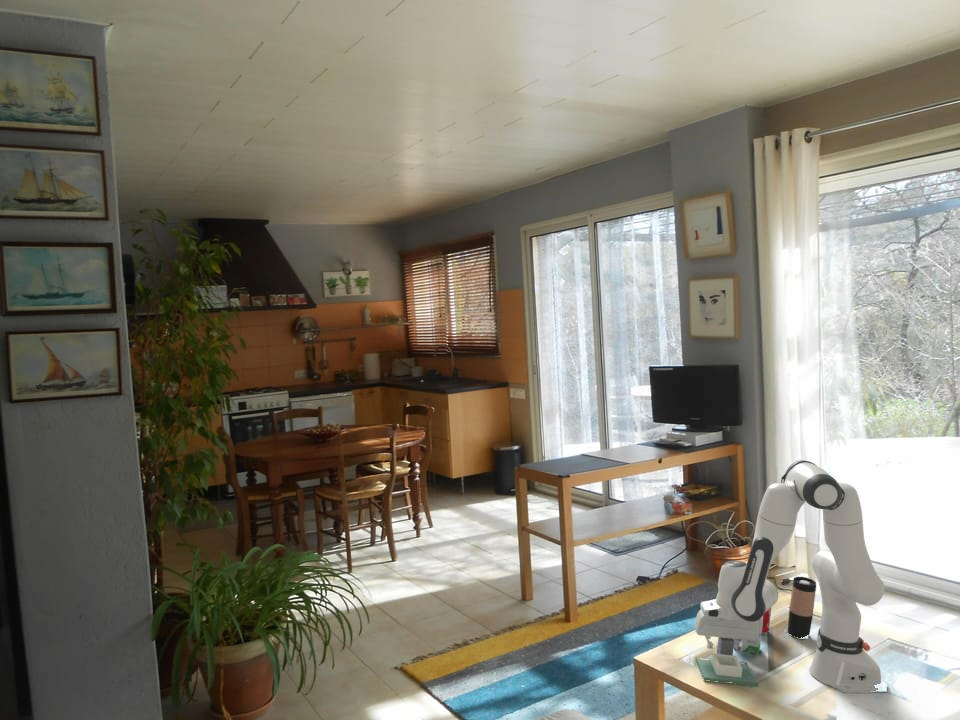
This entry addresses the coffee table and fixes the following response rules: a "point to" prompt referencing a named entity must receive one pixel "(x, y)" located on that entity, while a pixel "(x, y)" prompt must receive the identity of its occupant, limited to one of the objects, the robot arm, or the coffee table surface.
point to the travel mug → (801, 606)
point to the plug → (725, 646)
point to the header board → (726, 670)
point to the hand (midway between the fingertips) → (724, 649)
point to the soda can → (766, 621)
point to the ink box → (751, 642)
